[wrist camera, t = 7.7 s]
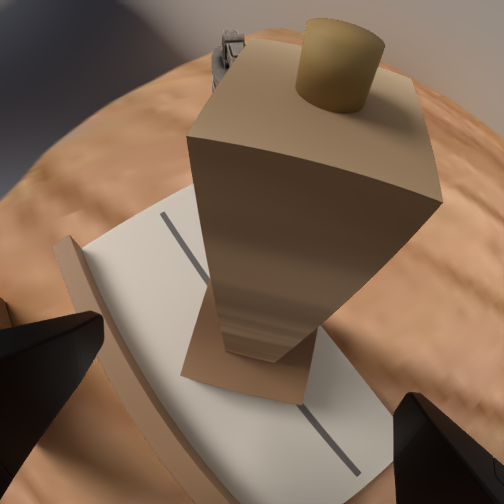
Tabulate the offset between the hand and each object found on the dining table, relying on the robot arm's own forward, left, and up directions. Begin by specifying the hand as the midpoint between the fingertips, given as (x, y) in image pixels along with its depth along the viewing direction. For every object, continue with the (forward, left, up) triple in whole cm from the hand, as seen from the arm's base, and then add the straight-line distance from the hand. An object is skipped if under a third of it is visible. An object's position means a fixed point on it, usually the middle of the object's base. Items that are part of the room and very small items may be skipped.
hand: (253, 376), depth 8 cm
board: (+2, 0, -11) cm, 11 cm away
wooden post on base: (+2, -2, -10) cm, 10 cm away
